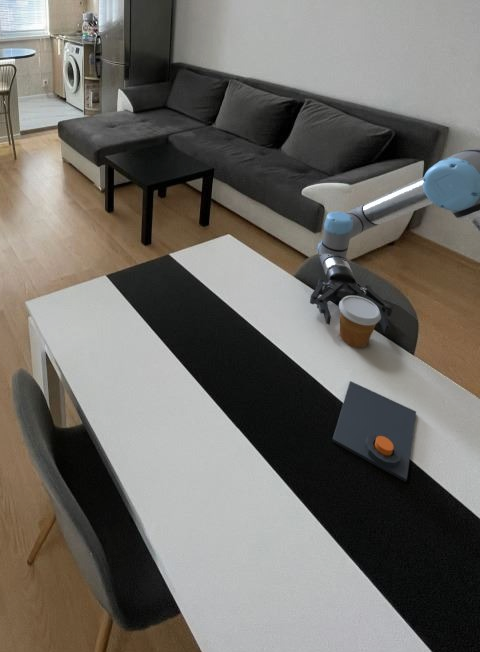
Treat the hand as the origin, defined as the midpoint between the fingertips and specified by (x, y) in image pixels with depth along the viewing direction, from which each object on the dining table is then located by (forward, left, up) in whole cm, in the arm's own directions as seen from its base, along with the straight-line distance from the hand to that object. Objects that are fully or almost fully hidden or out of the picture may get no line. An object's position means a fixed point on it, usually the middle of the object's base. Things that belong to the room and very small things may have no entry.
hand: (357, 325), depth 114 cm
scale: (+15, +21, -6) cm, 27 cm away
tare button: (+18, +26, -3) cm, 32 cm away
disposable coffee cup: (0, -1, -7) cm, 7 cm away
